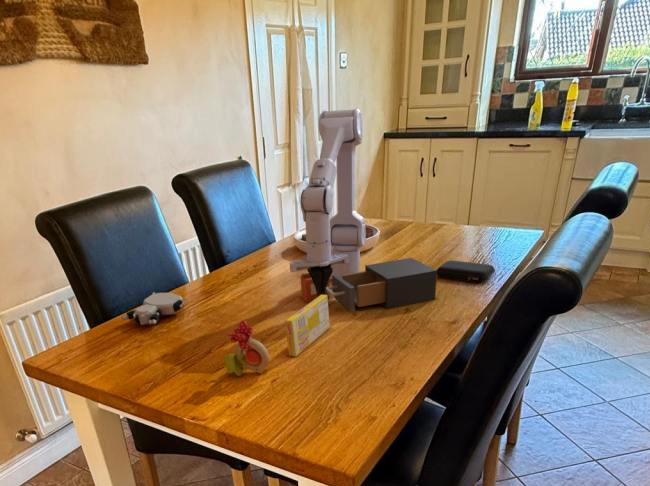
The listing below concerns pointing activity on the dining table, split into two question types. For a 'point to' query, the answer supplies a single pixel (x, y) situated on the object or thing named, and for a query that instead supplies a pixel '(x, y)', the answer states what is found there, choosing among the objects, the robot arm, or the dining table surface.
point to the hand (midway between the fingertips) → (320, 295)
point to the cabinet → (405, 281)
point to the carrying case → (465, 271)
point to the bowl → (370, 241)
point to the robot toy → (156, 308)
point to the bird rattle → (254, 355)
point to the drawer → (357, 289)
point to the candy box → (307, 325)
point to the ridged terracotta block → (309, 288)
